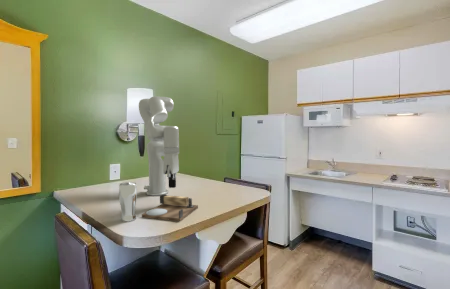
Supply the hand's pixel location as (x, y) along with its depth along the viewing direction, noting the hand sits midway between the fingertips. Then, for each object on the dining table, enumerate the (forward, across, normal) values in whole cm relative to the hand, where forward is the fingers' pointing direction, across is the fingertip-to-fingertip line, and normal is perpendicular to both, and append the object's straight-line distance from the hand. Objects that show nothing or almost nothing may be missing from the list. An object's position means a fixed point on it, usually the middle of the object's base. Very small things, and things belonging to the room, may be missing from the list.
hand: (172, 187), depth 123 cm
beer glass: (+9, +22, -11) cm, 27 cm away
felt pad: (+8, +16, -2) cm, 18 cm away
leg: (+7, +5, +3) cm, 9 cm away
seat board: (+9, +11, +4) cm, 15 cm away
